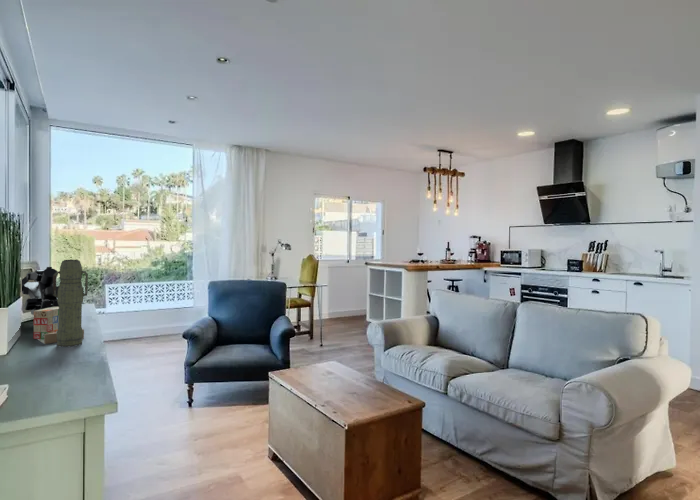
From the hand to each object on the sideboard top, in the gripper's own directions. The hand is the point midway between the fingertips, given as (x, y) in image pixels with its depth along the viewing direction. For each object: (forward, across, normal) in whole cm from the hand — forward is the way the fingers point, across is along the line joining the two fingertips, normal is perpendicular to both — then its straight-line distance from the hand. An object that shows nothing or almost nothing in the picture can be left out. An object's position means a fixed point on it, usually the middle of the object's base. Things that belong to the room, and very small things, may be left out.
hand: (54, 316), depth 191 cm
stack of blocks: (+10, 0, 0) cm, 10 cm away
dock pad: (+18, -2, -8) cm, 19 cm away
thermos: (+27, -2, -16) cm, 31 cm away
